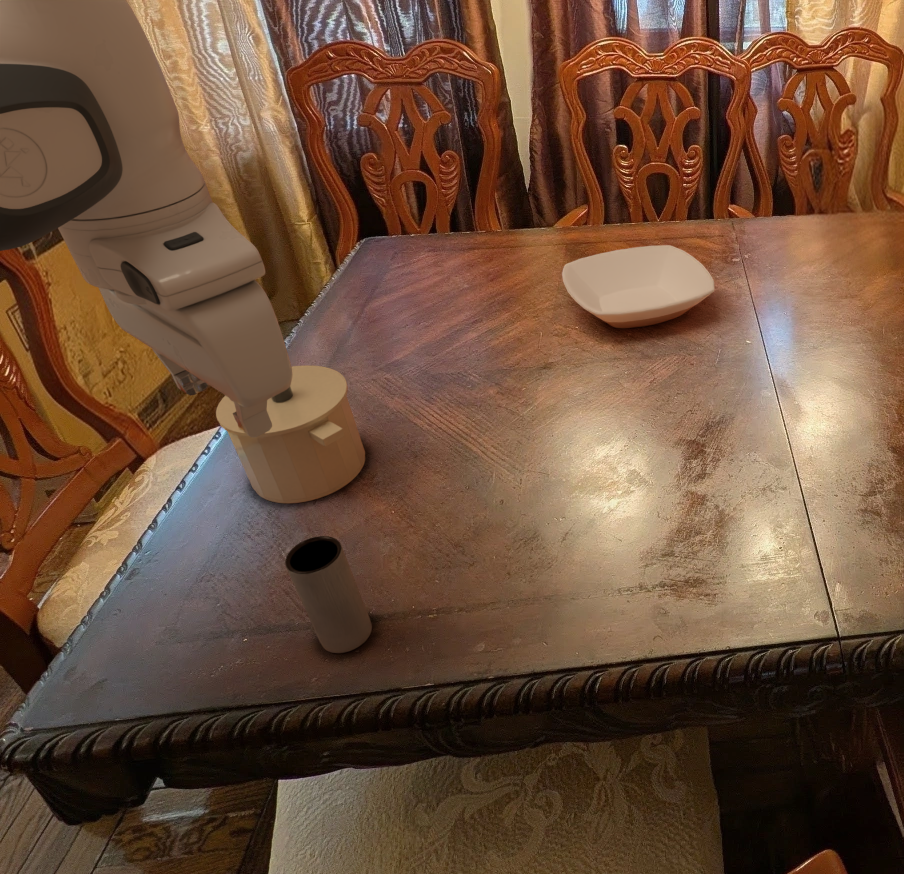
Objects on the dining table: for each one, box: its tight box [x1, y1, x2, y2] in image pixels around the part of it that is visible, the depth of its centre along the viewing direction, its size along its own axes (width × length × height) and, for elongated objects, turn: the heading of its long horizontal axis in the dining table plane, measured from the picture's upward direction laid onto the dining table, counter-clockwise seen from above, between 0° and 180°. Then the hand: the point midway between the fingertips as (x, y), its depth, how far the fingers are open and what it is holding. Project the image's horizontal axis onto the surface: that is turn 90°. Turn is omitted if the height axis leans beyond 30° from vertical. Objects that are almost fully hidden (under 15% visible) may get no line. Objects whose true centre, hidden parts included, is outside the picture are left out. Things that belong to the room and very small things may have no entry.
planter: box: [284, 535, 373, 654], centre depth 70 cm, size 4×4×10 cm
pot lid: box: [215, 364, 349, 437], centre depth 87 cm, size 13×13×4 cm
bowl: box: [561, 244, 716, 329], centre depth 122 cm, size 22×22×5 cm
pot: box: [226, 395, 366, 504], centre depth 91 cm, size 12×18×10 cm
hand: (225, 409), depth 61 cm, fingers open, 8 cm apart
